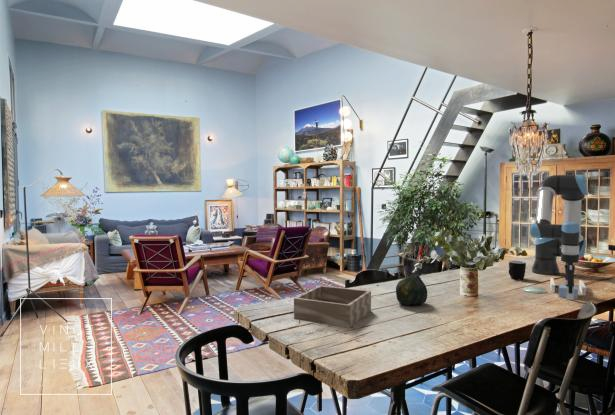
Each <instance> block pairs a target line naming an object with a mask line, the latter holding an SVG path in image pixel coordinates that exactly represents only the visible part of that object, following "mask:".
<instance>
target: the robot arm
mask: <svg viewBox="0 0 615 415" xmlns="http://www.w3.org/2000/svg"><path fill="white" fill-rule="evenodd" d="M588 193H589V190H588V183H587V177H586V176H585V174H553V175H550V176H547V177H546V178H544V179H543V180H542V181H541V182H540V183H539V184H538V186H537V189H536V197H537V203H536V214H535V222H534V223H531V224H530V225H529V226H530V228H529V229H530V230H529V232H530V233H529V234H530V237H531V238H535V244H534V245H535V250H534V252H535V253H534V254H535V259H534V261H533V264H532V267H531V272H532V273H534V274H538V275H548V276H554V275H555V276H556V275H559V274H560V269H559V264H558V262H557V258H560V261H561V262H563V263H565V264H564V271H565V272H564V273H565V274H564V279H565V281H564V285H566V286H567V298H566V300H570V301H574V299H573V298H574V286H575V270H576V269H575V267H576V266H575V265H574V263H579V262H580V259H582V258H583V257H584V256H585V252H586V247H587V246H586V245H587V240H586V239H585V238H584V236H583V235H582V233H581V230H582V229H581V226H582V201H583V200H584V199H585V198H586V196H587V195H589V194H588ZM555 196H560V197H561V199H562V200H563V222H562V223H561V224H558V223H557V224H556V223H554V224H553V223H552V218H553V217H552V216H553V205H554V203H553V202H554V198H555Z"/></svg>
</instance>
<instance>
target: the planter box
mask: <svg viewBox="0 0 615 415" xmlns="http://www.w3.org/2000/svg"><path fill="white" fill-rule="evenodd" d="M371 311H372V291H371V290H362V289H354V288H345V287H336V286H327V285H318V286H317V287H314V288H312V289H311V290H308V291H305V292H304V293H301V294H300V295H298V296H296V297H294V298H293V319H294V320H297V321H304V322H309V323H316V324H323V325H329V326H334V327H335V326H336V327H343V328H347V329H350V328H352V327H353V326H354V325H355V324H356V323H358V322H359V321H360V320H362V319H363V318H364V317H365V316H367V315H368V314H369V313H370V312H371Z"/></svg>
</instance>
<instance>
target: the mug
mask: <svg viewBox="0 0 615 415" xmlns="http://www.w3.org/2000/svg"><path fill="white" fill-rule="evenodd" d="M526 264H527V263H526V261H523V260H509V261H508V274H509V276H510V278H511V280H515V281H522V280H524V278H525V274H526V269H527V268H526V266H527V265H526Z"/></svg>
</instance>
